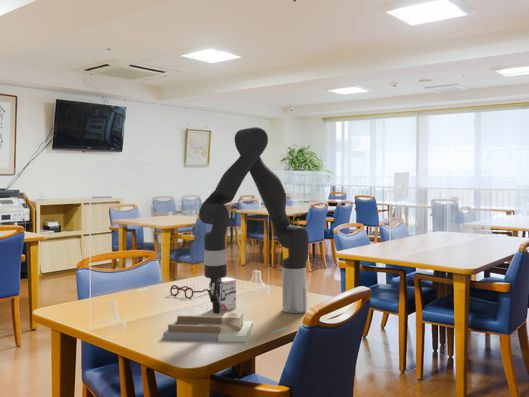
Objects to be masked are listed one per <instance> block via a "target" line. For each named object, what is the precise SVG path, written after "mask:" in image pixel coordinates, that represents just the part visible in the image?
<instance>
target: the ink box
mask: <svg viewBox="0 0 529 397" xmlns="http://www.w3.org/2000/svg"><path fill="white" fill-rule="evenodd" d="M221 281H223V283H224V284H223V291H222V298H221V301H220V312H221V311H222V312H223V311H227V310H235V309H237V280H236V279H235V278H232V277H223V278H221ZM211 303H212V302H211ZM212 308H213V303H212Z"/></svg>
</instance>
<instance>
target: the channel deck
mask: <svg viewBox="0 0 529 397" xmlns="http://www.w3.org/2000/svg"><path fill="white" fill-rule="evenodd" d="M222 317H223V316H210V315H203V316H202V315H181V314H179V315H177V316H176V320H175V321H174V322H172V324H171V323H170V324H168V325H167V329H166V330H165V331H164V332H163V333H162V337H163V338H162V340H169V339H172V340H174V341H201V342H202V341H203V342H204V341H205V342H225V343H226V342H228V343H229V342H231V343H232V342H233V343H247V340H248V339H249V336H250V335H251V333H252V330H253V329H254V321H253V320H243V327H242V329H241V330H240V331H222Z"/></svg>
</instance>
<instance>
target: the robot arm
mask: <svg viewBox="0 0 529 397" xmlns="http://www.w3.org/2000/svg"><path fill="white" fill-rule="evenodd" d="M268 136H269V135H268V133H267V131H266V130H265V129H264V128H262V127H259V126H257V127H256V126H255V127H254V126H253V127H247V128H243V129H240V130H237V131H236V133H235V135H234V146H235V147H236V150H237V152H238V154H239V156H238V158H237V159H236V161H235V162H233V164H231V166H229V167H228V169H226V170H225V172H224V173H223V174H222V176H221V177H220V179H219V181H218V183H217V185H216V188H215V189H214V190H213V191H212V192H211V193H210V194H209V196H208V197H207V198H206V199H205V200H204V201H203V203H202V204H201V206H200V207H199V211H198V218H199V220H200V221H201V222H202V223H203V224H205V225H212V226H211V229H210V231H207V232H205V233H204V236H203V237H204V238H203V240H204V241H203V242H204V245H203V246H204V252H203V265H204V266H203V267H204V269H203V271H204V277H205V278H207V279H210V282H209V284H208V288H209V289H208V290H209V291H207V292H208V296H209V299H210V302H211V303H213V307H212V313H213V314H215V315H217V314H220V313H221V311H220V301H221V298H222V291H223V284H224V283H223V281H221V278H226V277H227V275H228V269H227V267H228V265H227V264H228V263H227V252H226V234H227V230H228V226H229V221H230V212H229V208H227V206H226V204H229V203H232V201H233V200H234V198H235V197H236V194H238V193H237V192H238V191H239V188H240V186H241V185H242V183H243V182H244V180H245V177H246V176H247V175H248V173H249V174H250V175H251V177H252V180H253V182H254V184H255V186H256V188H257V191H258V194H259V196H260V197H261V200H262V202H263V204H264V206H265V209H266V211H267V213H268V216H269V217H270V221H271V223H272V227H273V229H274V232H275V235H276V238H277V240H278V243H279V245H280V246H281V247H283V248H285V249H288V250H289V256H288V257H286V258H284V259H283V258H282V264H281V266H282V270H281V271H282V274H281V275H282V280H281V281H282V311H283V312H285V313H288V314H300V313H301V314H302V313H307V305H308V304H307V301H308V300H307V298H308V296H307V291H308V290H307V262H308V259H309V242H310V240H309V239H310V238H309V232H308V231H307V229H306V228H305V227H304V226H300V225H299V226H298V225H292V223H291V222H290V219H289V218H288V215H287V213H286V207H287V193H286V190H285V187H284V185H283V183H282V181H281V179H280V178H279V176H278V174H276V173H275V172H274V171H273V170H272V169H271V168H270V167H269V166H268V165H267V164H266V163H265V162H264V160H263V158H261V155H262V154H263V153H264V152H265V150H266V149H267V147H268V143H269V137H268Z"/></svg>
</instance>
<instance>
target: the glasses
mask: <svg viewBox="0 0 529 397" xmlns="http://www.w3.org/2000/svg"><path fill="white" fill-rule="evenodd" d="M172 290H177V291H176V293H175V294H174V293H173V291H172ZM188 290H190V291H191V295H190V296H187V291H188ZM209 290H210V289H208V288H205V289H203V290H193V288H191V287H188V286H187V285H184V286H181V287H179V286H178V285H175V284H172V285H171V287H170V290H169V291H170V295H174V296H173V297H176V296H178V294H179V291H184V297H185V298H186V299H192V298H193V296H194V294H195V293H203V292H205V291H207V292H208V291H209Z"/></svg>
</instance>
